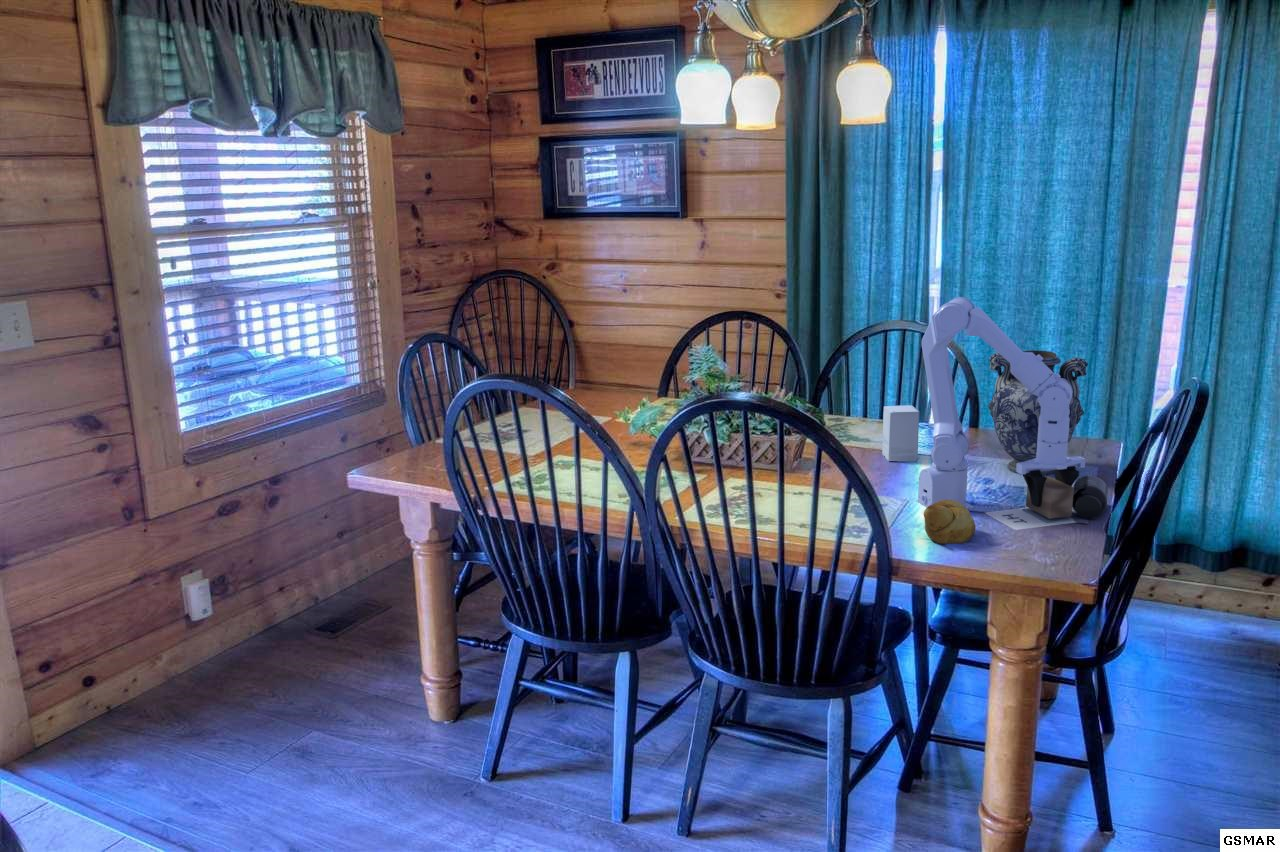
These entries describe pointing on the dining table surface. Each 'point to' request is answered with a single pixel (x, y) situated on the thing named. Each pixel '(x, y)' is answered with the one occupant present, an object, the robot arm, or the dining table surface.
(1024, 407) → the decorative vase
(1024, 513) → the board
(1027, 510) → the pad
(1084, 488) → the supplement bottle
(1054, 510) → the walnut block
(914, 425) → the supplement box
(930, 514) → the bread roll
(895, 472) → the dining table surface
